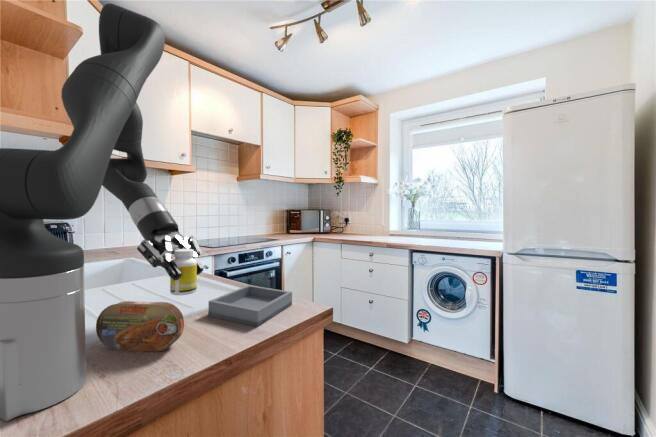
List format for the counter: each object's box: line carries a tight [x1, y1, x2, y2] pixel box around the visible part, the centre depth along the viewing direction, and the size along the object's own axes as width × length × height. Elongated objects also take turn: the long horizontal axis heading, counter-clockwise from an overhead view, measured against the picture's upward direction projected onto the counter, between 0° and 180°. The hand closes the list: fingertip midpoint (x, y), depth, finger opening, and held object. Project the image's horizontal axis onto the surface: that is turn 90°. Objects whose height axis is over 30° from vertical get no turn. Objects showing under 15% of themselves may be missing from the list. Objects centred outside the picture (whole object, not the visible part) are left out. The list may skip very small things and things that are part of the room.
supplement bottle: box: [169, 248, 198, 296], centre depth 65 cm, size 5×5×10 cm
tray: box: [207, 284, 293, 328], centre depth 71 cm, size 15×14×4 cm
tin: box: [95, 300, 185, 353], centre depth 52 cm, size 15×3×8 cm, turn 89°
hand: (189, 274), depth 64 cm, fingers closed on supplement bottle, 5 cm apart
